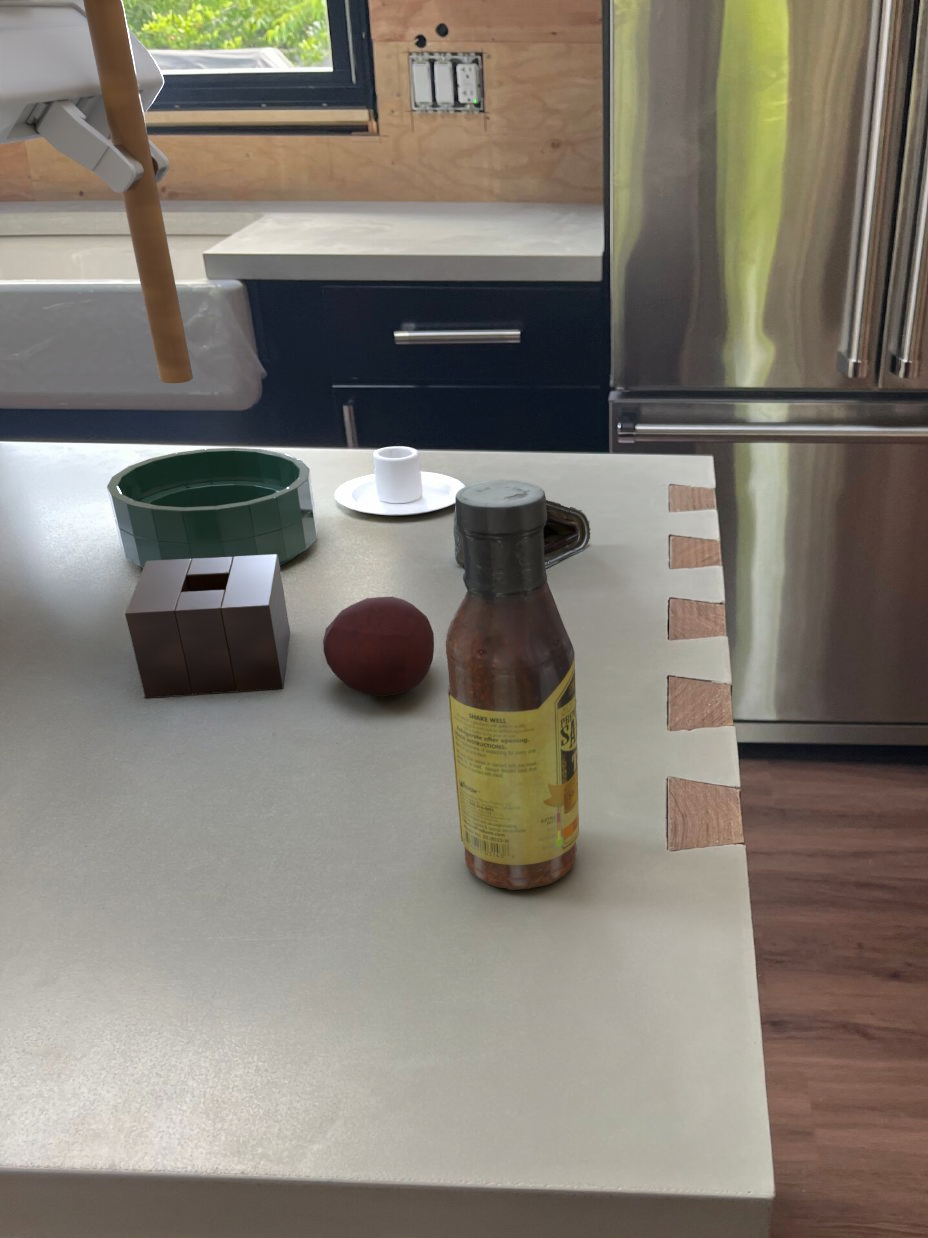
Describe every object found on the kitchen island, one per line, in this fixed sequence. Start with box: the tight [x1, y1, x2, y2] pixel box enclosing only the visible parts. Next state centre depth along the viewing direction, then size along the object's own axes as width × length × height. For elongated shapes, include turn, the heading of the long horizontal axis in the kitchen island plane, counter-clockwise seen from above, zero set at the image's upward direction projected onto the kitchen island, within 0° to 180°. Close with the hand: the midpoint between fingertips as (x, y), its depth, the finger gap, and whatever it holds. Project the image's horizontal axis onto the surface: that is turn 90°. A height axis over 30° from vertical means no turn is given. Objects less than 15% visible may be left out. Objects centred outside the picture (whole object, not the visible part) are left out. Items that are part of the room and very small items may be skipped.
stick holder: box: [124, 554, 291, 699], centre depth 80 cm, size 9×9×6 cm
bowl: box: [106, 447, 318, 569], centre depth 97 cm, size 16×16×6 cm
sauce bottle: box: [445, 479, 580, 891], centre depth 58 cm, size 7×6×20 cm
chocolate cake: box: [453, 499, 591, 569], centre depth 97 cm, size 10×7×12 cm
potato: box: [322, 596, 435, 697], centre depth 77 cm, size 7×8×6 cm
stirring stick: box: [83, 0, 194, 384], centre depth 70 cm, size 2×2×20 cm
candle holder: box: [334, 445, 466, 516], centre depth 108 cm, size 12×12×4 cm
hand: (147, 179), depth 69 cm, fingers closed on stirring stick, 2 cm apart
